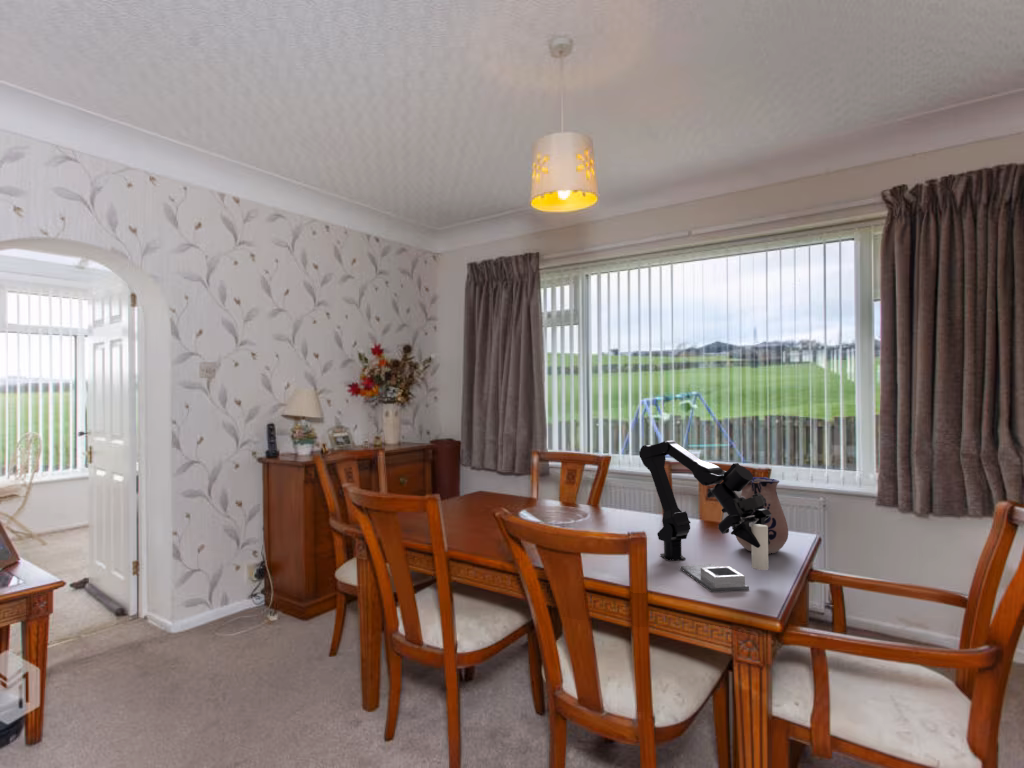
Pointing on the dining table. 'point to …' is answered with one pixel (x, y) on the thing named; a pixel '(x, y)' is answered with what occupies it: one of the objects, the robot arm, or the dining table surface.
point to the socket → (717, 577)
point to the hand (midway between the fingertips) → (764, 545)
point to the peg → (762, 552)
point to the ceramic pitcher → (772, 503)
